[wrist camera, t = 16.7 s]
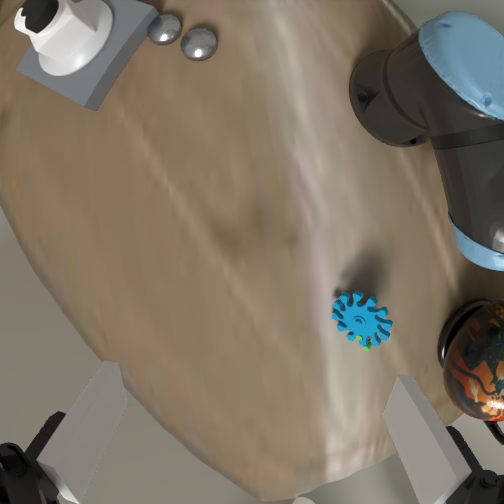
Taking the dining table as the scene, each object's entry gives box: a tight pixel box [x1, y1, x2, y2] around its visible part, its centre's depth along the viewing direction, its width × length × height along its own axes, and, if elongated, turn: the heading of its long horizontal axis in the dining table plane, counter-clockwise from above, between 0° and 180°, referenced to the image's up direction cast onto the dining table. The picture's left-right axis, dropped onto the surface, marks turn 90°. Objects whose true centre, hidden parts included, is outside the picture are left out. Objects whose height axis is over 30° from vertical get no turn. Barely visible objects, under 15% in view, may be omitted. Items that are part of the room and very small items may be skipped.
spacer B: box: [147, 14, 182, 45], centre depth 34 cm, size 5×5×2 cm
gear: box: [332, 290, 393, 351], centre depth 43 cm, size 11×6×10 cm
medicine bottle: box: [15, 0, 96, 62], centre depth 24 cm, size 7×7×12 cm
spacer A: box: [181, 28, 217, 61], centre depth 35 cm, size 5×5×2 cm
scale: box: [16, 0, 160, 111], centre depth 33 cm, size 18×20×5 cm
